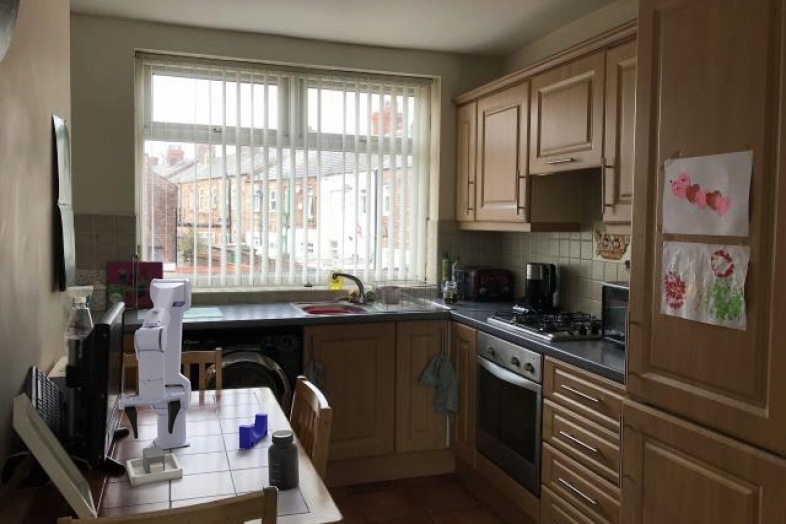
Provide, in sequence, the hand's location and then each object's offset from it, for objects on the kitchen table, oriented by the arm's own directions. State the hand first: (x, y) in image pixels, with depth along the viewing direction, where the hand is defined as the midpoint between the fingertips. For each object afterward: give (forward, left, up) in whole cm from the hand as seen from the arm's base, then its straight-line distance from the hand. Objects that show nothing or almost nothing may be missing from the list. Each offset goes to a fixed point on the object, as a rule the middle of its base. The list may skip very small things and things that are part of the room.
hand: (153, 435), depth 156 cm
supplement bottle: (+21, +25, -9) cm, 34 cm away
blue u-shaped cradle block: (-11, +26, -10) cm, 30 cm away
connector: (+1, 0, -9) cm, 9 cm away
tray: (0, 0, -9) cm, 9 cm away
